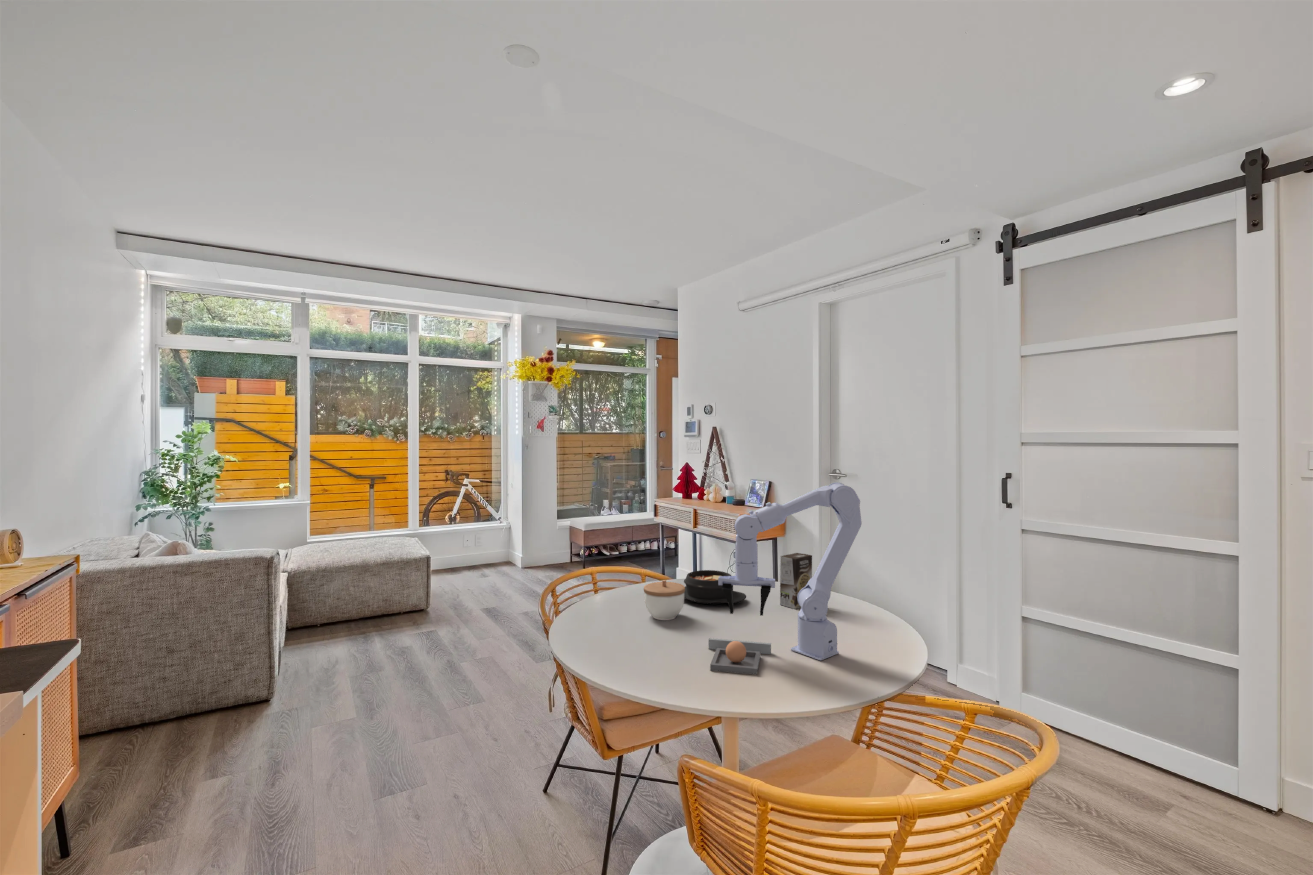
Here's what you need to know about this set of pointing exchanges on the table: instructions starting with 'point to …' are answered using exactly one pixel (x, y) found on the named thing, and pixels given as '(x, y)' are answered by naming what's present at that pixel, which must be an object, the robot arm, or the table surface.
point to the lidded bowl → (664, 599)
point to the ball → (735, 651)
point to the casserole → (708, 588)
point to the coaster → (725, 665)
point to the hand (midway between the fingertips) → (746, 613)
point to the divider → (750, 646)
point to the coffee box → (794, 577)
